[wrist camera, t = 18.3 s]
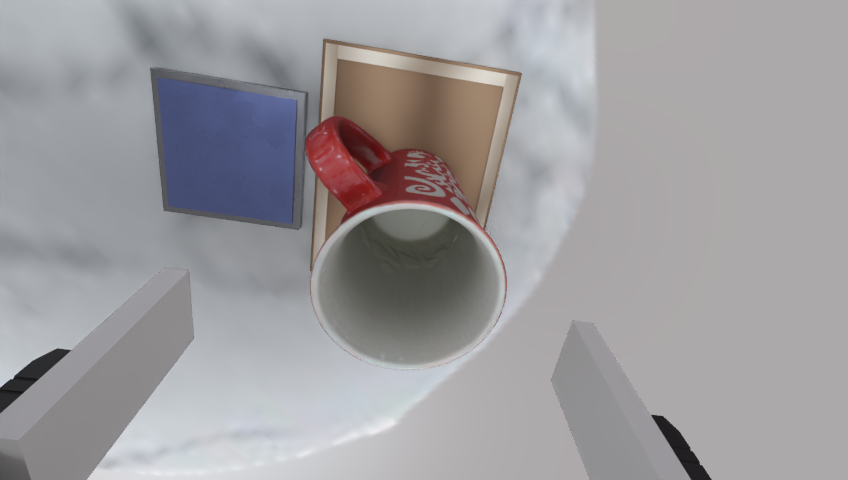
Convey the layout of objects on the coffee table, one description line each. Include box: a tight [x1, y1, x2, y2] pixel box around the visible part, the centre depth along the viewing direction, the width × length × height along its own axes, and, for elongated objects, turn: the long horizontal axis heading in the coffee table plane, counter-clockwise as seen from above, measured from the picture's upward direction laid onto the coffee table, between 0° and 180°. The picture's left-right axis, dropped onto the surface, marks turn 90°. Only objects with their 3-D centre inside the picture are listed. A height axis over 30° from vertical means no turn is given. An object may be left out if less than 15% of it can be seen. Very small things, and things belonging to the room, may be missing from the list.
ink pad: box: [150, 68, 307, 230], centre depth 31 cm, size 10×10×1 cm
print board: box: [310, 39, 522, 271], centre depth 32 cm, size 13×17×1 cm
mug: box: [305, 116, 507, 370], centre depth 25 cm, size 13×9×14 cm
